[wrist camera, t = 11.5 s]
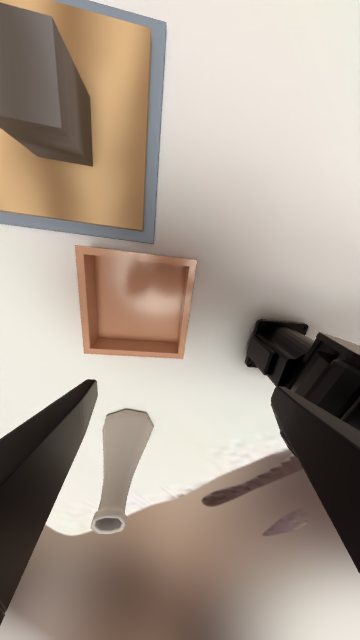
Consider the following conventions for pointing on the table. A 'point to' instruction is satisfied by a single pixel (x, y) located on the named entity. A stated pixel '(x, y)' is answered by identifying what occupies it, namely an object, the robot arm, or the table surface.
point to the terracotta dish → (134, 302)
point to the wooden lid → (73, 114)
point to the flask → (120, 466)
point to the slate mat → (153, 139)
